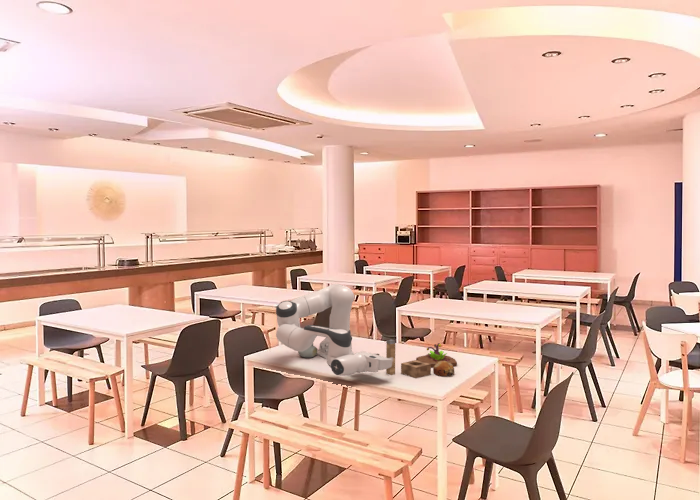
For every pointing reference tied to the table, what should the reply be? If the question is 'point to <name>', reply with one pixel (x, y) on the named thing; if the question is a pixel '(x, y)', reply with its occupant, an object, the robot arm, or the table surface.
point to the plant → (436, 357)
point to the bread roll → (443, 369)
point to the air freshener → (309, 352)
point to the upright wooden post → (390, 355)
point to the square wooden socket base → (415, 369)
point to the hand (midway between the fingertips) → (385, 357)
